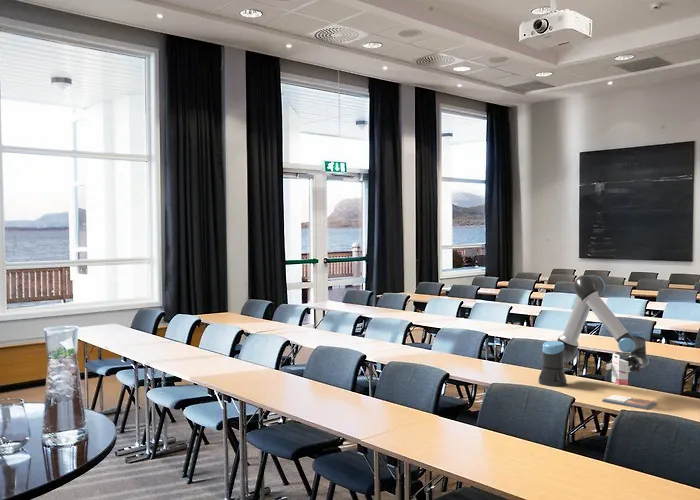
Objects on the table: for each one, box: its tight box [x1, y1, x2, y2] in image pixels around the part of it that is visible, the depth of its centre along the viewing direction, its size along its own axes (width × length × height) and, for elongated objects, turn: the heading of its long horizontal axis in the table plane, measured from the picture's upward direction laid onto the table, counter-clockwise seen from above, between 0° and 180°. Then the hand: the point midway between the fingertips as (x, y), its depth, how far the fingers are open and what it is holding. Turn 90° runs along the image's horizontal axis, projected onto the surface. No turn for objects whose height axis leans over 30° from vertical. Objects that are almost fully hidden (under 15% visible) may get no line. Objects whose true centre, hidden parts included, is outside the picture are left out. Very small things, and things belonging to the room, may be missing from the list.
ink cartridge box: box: [611, 352, 629, 386], centre depth 311 cm, size 9×5×15 cm, turn 1°
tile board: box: [601, 394, 658, 410], centre depth 308 cm, size 21×15×2 cm
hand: (616, 368), depth 308 cm, fingers closed on ink cartridge box, 9 cm apart
